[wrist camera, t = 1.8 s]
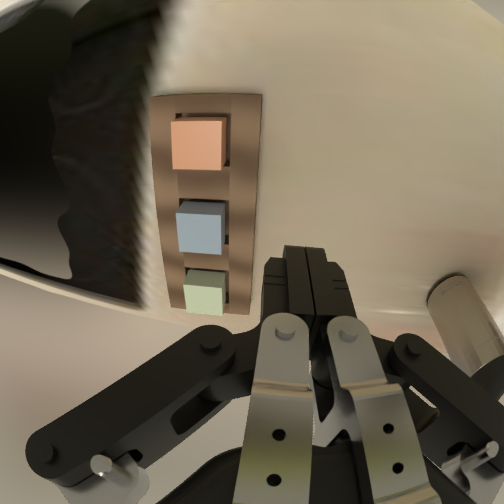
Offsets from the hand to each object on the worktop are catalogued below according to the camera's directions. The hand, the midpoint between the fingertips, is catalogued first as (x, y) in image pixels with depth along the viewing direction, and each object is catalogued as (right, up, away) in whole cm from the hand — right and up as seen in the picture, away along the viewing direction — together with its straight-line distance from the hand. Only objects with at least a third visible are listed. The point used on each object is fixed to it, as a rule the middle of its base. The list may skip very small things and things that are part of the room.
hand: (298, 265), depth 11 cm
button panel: (-7, +6, +26) cm, 28 cm away
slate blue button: (-8, +4, +24) cm, 25 cm away
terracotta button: (-7, +13, +18) cm, 23 cm away
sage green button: (-8, -4, +29) cm, 30 cm away
